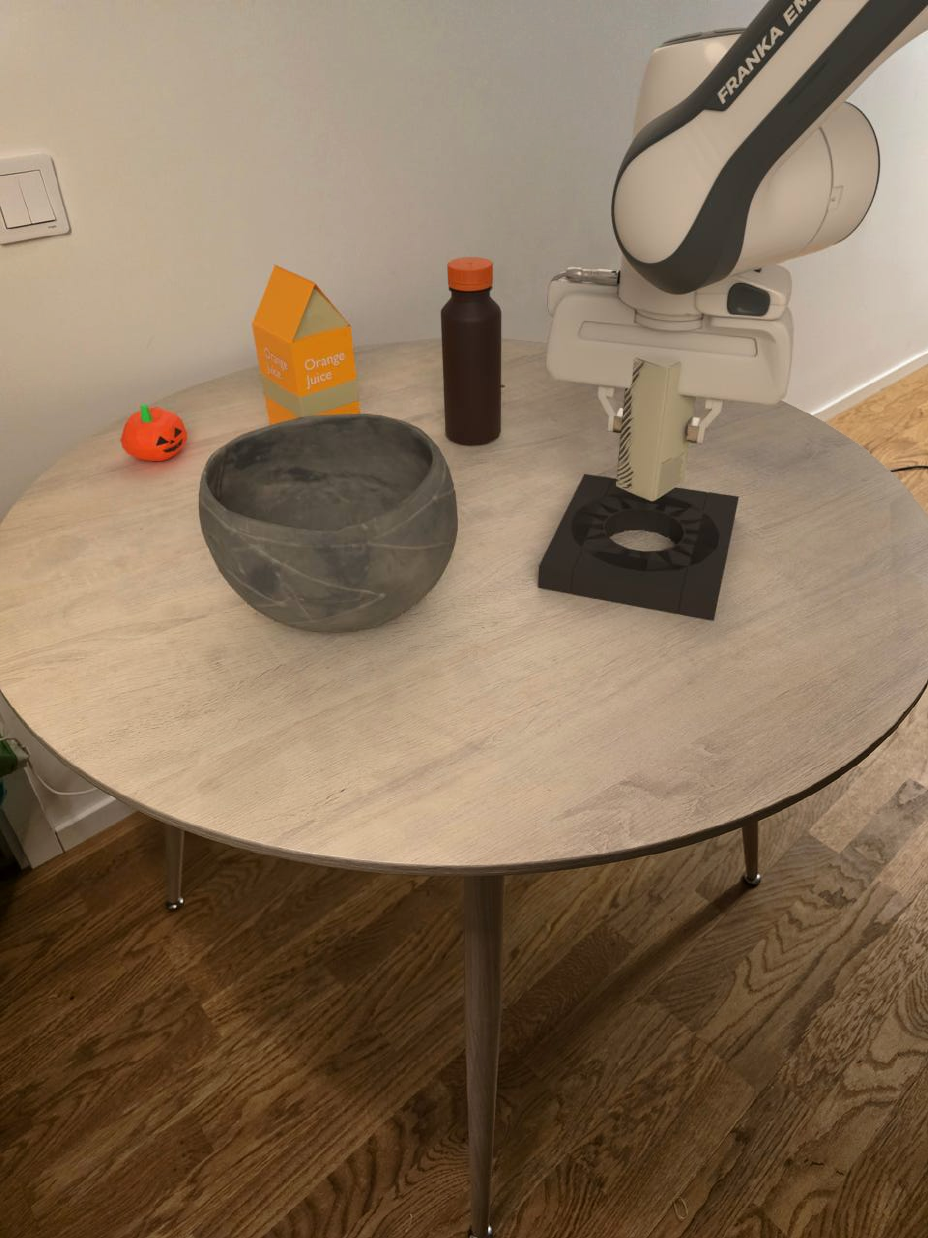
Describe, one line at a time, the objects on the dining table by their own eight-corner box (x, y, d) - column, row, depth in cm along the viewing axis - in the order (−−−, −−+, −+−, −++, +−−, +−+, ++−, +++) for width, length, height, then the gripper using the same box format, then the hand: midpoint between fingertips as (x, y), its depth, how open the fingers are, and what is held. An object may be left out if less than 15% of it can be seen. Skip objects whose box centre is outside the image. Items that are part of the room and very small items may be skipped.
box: (646, 468, 83) (662, 335, 75) (685, 483, 80) (706, 348, 72) (612, 488, 80) (625, 352, 72) (651, 505, 77) (669, 366, 69)
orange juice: (308, 468, 99) (281, 290, 87) (271, 441, 105) (240, 271, 92) (365, 447, 103) (347, 274, 91) (326, 422, 108) (304, 256, 96)
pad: (734, 517, 89) (739, 496, 87) (713, 621, 76) (718, 598, 74) (582, 493, 93) (584, 473, 92) (537, 588, 80) (538, 566, 79)
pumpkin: (196, 438, 106) (184, 388, 102) (181, 470, 100) (168, 418, 96) (137, 440, 106) (123, 390, 102) (119, 472, 99) (103, 420, 95)
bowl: (188, 596, 80) (148, 450, 71) (379, 519, 90) (365, 382, 81) (297, 722, 67) (265, 563, 58) (507, 615, 77) (508, 465, 68)
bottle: (511, 437, 104) (513, 265, 92) (463, 452, 101) (458, 276, 89) (482, 416, 109) (480, 250, 96) (435, 430, 106) (427, 260, 94)
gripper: (538, 276, 69) (533, 435, 77) (808, 299, 63) (770, 468, 72) (558, 253, 73) (551, 406, 82) (811, 273, 68) (776, 434, 76)
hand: (655, 435), depth 77 cm, fingers closed on box, 5 cm apart
